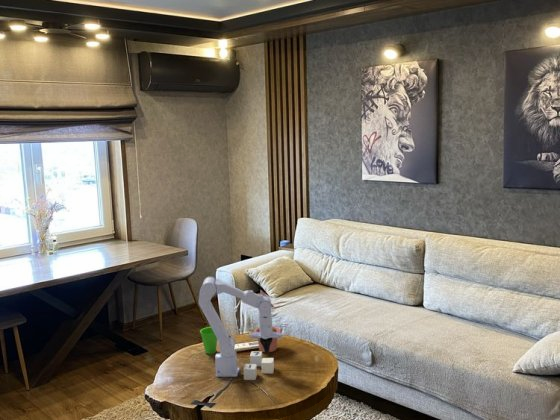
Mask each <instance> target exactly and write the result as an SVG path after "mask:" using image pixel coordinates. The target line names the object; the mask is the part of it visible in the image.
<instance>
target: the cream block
mask: <svg viewBox="0 0 560 420" xmlns="http://www.w3.org/2000/svg"><path fill="white" fill-rule="evenodd" d="M274 360H275V359H274V357H262V362H261V366H260V367H261V374H274V370H275V363H274V362H275V361H274Z"/></svg>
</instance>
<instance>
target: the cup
mask: <svg viewBox="0 0 560 420" xmlns="http://www.w3.org/2000/svg"><path fill="white" fill-rule="evenodd" d="M199 333H200V335H201V339H202V344H203V348H204V353H206V354H208V355H212V354H215V353H217V347H218V346H217V345H218V340H217V337H216V335H215V333H214V332H213V330H212V328H211V326H208V327H207V326H206V327H204V328H203V327H202V329H200V330H199Z"/></svg>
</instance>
